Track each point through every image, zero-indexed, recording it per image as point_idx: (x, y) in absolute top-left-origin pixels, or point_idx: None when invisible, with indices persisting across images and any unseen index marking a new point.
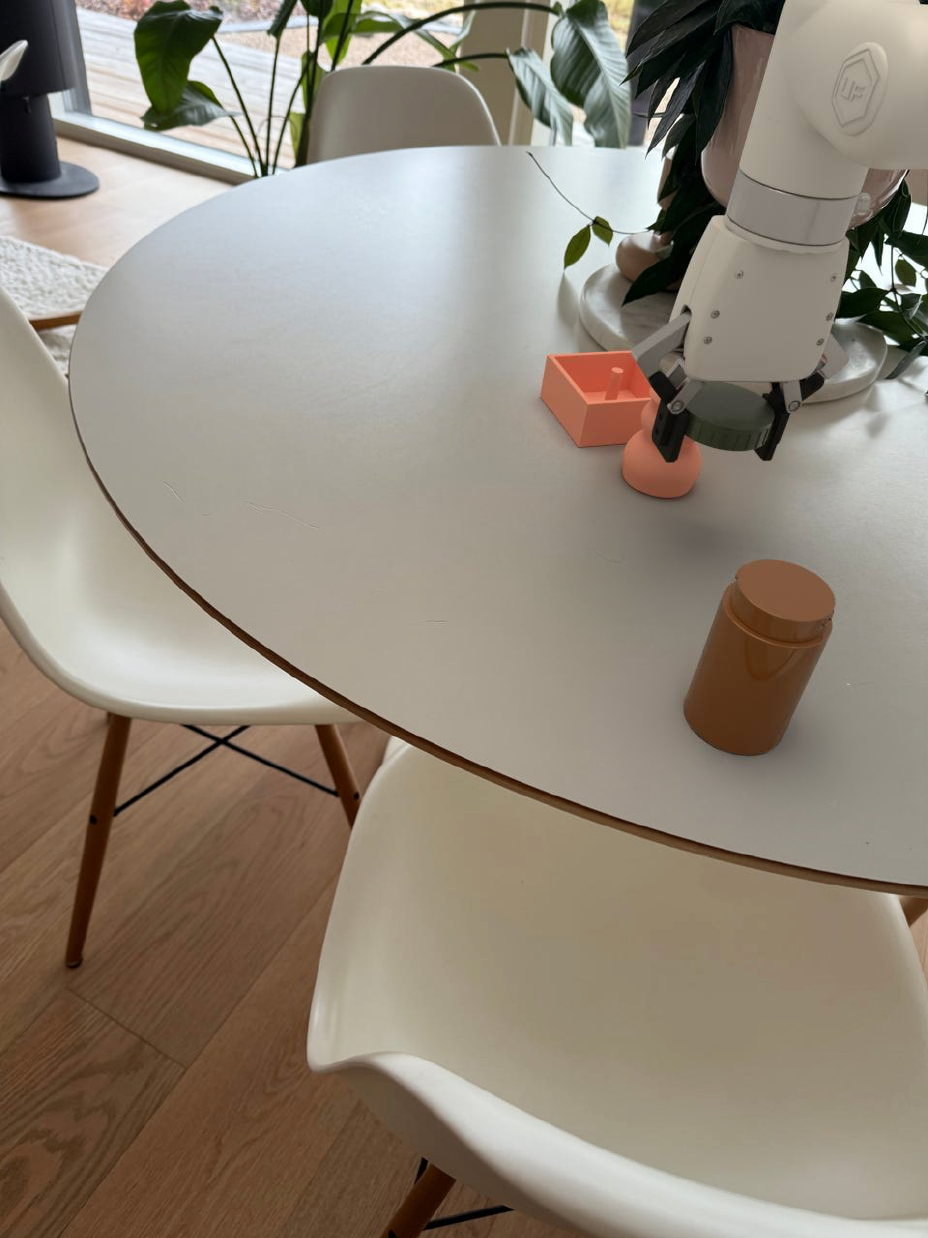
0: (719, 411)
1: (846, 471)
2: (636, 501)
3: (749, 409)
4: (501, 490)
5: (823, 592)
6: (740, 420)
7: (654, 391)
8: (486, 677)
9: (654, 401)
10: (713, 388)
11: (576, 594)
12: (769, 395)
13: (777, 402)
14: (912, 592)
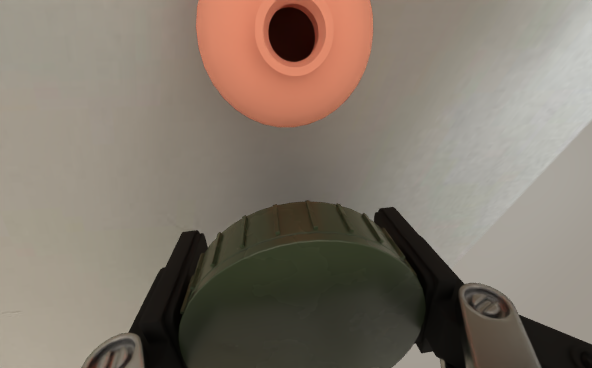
0: (276, 365)
1: (582, 21)
2: (231, 116)
3: (357, 345)
4: (19, 95)
5: None
6: None
7: (200, 45)
8: (74, 352)
9: (206, 70)
10: (300, 280)
11: (144, 274)
12: (440, 313)
13: (435, 347)
14: (465, 248)
